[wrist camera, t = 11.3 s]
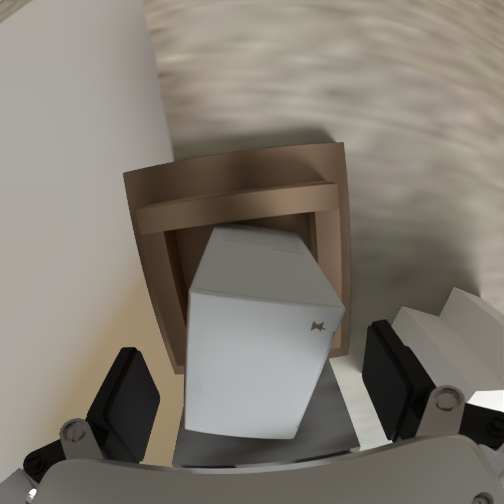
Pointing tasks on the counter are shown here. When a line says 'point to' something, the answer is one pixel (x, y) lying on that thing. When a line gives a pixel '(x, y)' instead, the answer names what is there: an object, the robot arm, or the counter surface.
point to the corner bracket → (459, 346)
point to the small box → (256, 333)
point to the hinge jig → (260, 215)
